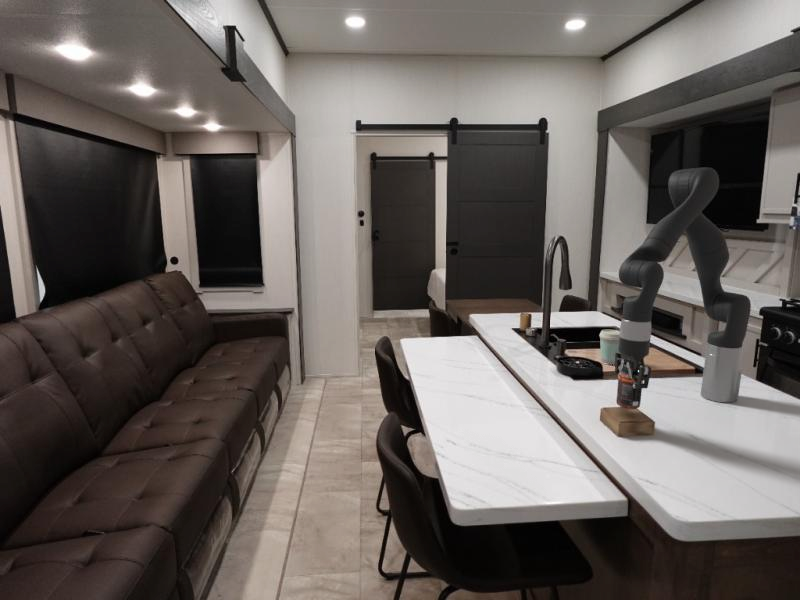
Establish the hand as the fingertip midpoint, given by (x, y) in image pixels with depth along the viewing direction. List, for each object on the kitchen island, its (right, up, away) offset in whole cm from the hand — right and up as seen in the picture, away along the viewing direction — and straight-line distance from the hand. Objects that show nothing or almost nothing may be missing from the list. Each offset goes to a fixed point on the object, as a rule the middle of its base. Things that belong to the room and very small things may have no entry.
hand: (628, 396), depth 143 cm
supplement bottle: (0, -3, +1) cm, 3 cm away
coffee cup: (+17, +2, +57) cm, 59 cm away
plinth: (0, -9, +2) cm, 9 cm away
